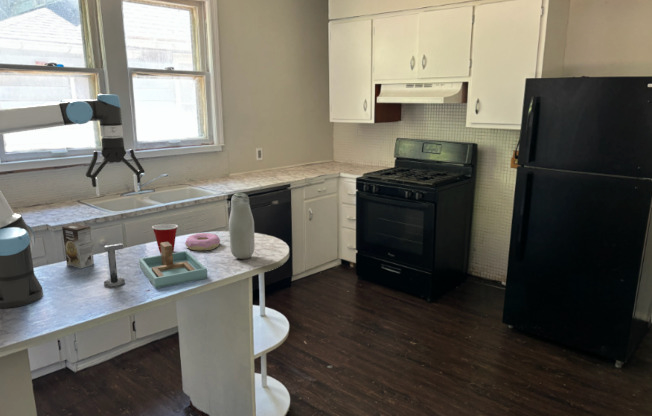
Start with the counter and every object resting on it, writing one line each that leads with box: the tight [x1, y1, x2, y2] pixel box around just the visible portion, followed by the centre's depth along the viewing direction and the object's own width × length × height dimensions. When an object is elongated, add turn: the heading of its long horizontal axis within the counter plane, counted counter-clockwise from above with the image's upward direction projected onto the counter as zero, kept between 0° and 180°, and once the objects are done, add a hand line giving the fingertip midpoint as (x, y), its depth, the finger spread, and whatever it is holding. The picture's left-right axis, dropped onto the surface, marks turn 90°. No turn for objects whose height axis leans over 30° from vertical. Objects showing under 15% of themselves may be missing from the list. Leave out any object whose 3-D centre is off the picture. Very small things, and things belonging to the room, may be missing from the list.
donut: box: [184, 232, 221, 252], centre depth 218 cm, size 16×15×5 cm
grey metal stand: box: [103, 243, 126, 289], centre depth 173 cm, size 8×7×15 cm
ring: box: [152, 242, 195, 277], centre depth 185 cm, size 14×20×9 cm
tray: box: [138, 250, 208, 289], centre depth 185 cm, size 19×25×4 cm
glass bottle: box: [228, 192, 255, 260], centre depth 200 cm, size 10×10×28 cm
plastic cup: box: [151, 223, 179, 254], centre depth 209 cm, size 11×11×12 cm
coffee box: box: [61, 223, 95, 269], centre depth 192 cm, size 9×6×16 cm
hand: (117, 193), depth 181 cm, fingers open, 13 cm apart
